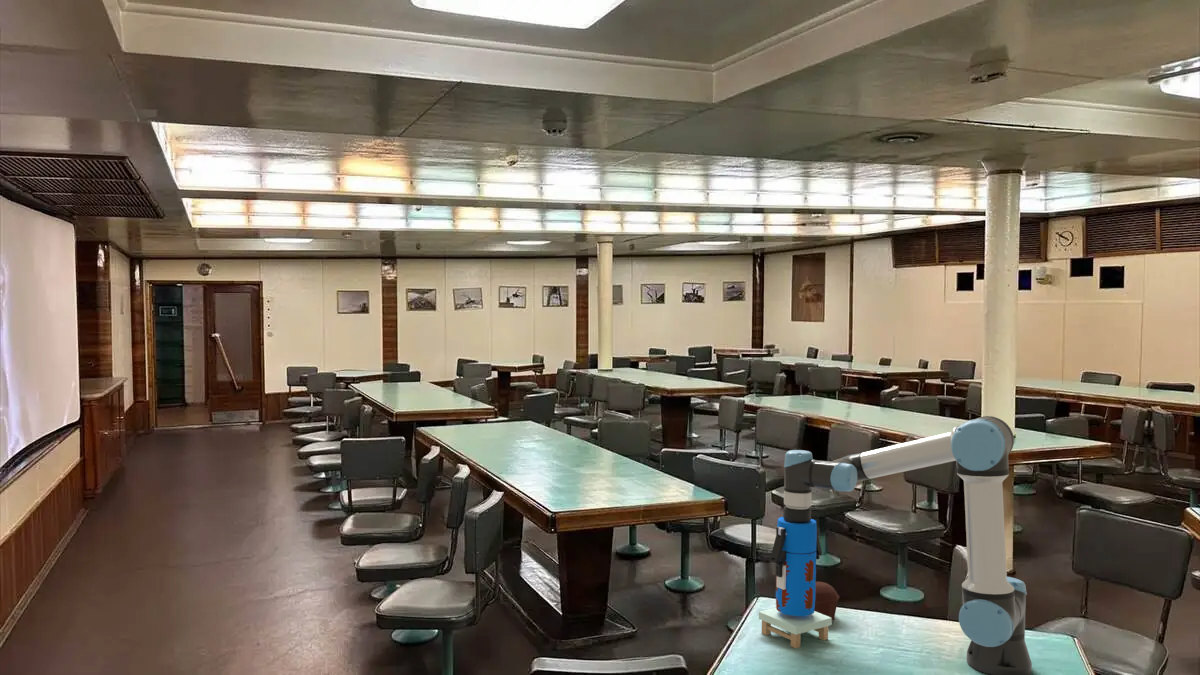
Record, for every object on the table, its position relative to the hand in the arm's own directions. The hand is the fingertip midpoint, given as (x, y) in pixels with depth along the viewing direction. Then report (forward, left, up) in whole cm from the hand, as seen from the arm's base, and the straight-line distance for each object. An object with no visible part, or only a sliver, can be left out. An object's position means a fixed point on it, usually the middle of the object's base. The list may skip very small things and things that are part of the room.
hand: (795, 584), depth 233 cm
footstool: (0, 0, -14) cm, 14 cm away
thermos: (0, 0, -7) cm, 7 cm away
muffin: (+7, -18, -15) cm, 24 cm away
